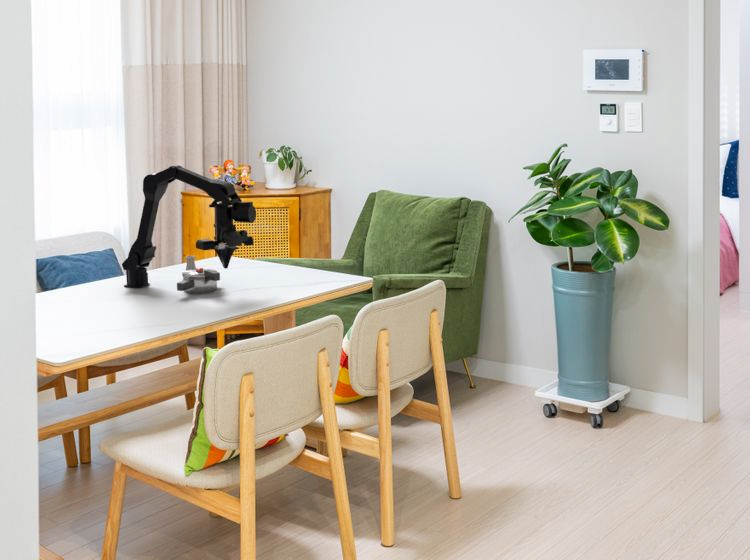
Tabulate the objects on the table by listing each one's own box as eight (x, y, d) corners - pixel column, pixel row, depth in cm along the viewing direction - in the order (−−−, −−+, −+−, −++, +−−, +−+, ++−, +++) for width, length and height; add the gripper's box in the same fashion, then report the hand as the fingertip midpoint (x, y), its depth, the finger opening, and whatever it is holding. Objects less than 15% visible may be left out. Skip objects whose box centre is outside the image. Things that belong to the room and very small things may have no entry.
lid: (176, 274, 319) (175, 267, 319) (207, 270, 326) (206, 263, 326) (201, 282, 306) (200, 275, 305) (232, 278, 313) (232, 271, 312)
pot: (200, 284, 329) (199, 270, 328) (227, 287, 325) (227, 272, 324) (165, 296, 311) (165, 281, 310) (194, 299, 306) (194, 283, 305)
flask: (197, 287, 325) (196, 258, 323) (177, 286, 326) (176, 257, 324) (205, 283, 331) (204, 255, 330) (185, 282, 333) (184, 254, 331)
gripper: (210, 226, 299) (212, 275, 302) (261, 221, 310) (262, 268, 313) (194, 222, 307) (195, 270, 311) (244, 218, 319) (245, 263, 322)
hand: (225, 268), depth 314 cm, fingers closed
